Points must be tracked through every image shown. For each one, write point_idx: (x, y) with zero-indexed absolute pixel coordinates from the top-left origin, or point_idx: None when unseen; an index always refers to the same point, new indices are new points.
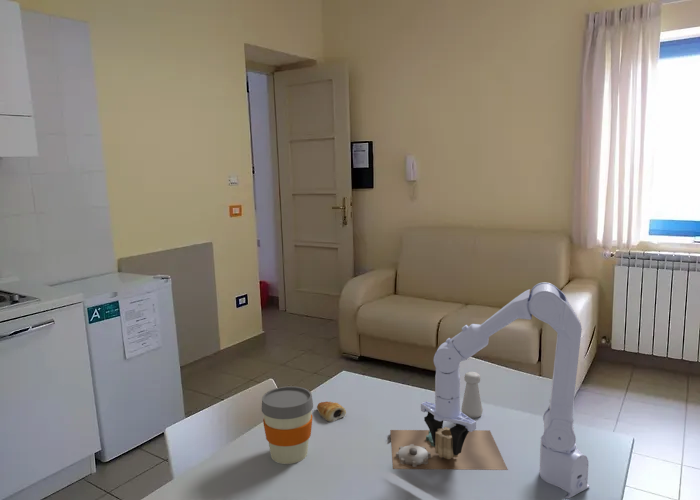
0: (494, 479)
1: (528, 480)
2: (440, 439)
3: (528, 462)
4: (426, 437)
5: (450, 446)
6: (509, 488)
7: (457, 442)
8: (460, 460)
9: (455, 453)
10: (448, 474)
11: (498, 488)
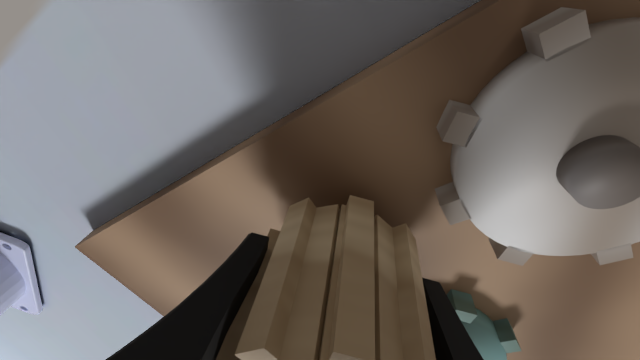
0: (99, 180)
1: (24, 227)
2: (351, 325)
3: (106, 309)
4: (514, 337)
5: (263, 278)
6: (12, 147)
7: (156, 323)
8: (267, 232)
9: (246, 240)
10: (286, 112)
11: (35, 123)
